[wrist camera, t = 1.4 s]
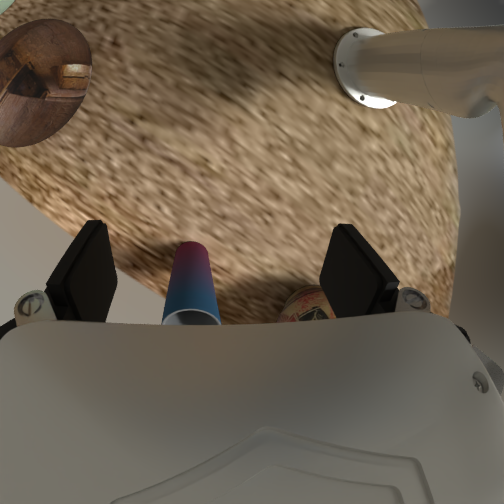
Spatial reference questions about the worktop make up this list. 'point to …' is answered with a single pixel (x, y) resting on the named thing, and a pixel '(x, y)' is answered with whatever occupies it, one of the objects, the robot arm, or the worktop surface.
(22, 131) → the wooden sphere
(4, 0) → the far disc
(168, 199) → the worktop surface
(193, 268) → the cup
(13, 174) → the worktop surface
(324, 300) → the ceramic jug
